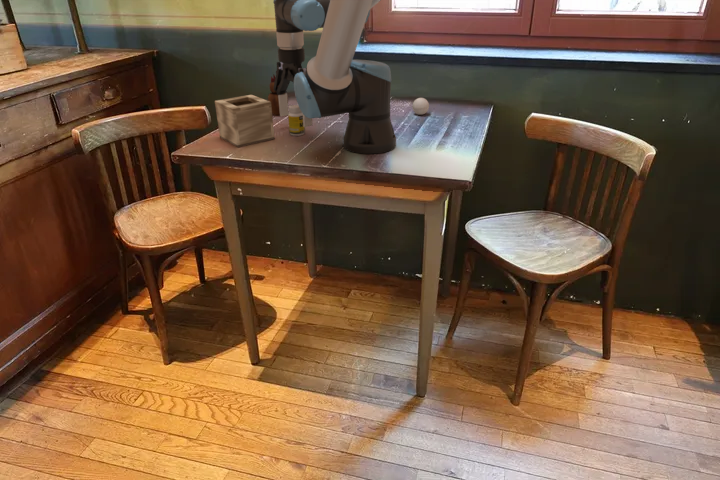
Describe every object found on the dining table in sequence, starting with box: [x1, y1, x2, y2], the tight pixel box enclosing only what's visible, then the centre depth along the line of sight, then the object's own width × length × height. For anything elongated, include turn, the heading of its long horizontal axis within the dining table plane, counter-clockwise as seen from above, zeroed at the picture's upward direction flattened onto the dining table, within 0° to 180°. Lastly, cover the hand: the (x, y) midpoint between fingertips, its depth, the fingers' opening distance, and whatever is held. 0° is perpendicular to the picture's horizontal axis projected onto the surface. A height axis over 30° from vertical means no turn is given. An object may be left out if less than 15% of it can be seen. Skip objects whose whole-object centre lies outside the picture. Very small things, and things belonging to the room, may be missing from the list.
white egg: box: [411, 97, 430, 116], centre depth 173 cm, size 8×6×6 cm
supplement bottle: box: [287, 104, 306, 137], centre depth 156 cm, size 5×5×8 cm
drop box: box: [214, 94, 275, 148], centre depth 152 cm, size 12×12×11 cm
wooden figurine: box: [267, 74, 289, 116], centre depth 174 cm, size 7×6×15 cm
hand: (295, 120), depth 156 cm, fingers open, 13 cm apart
